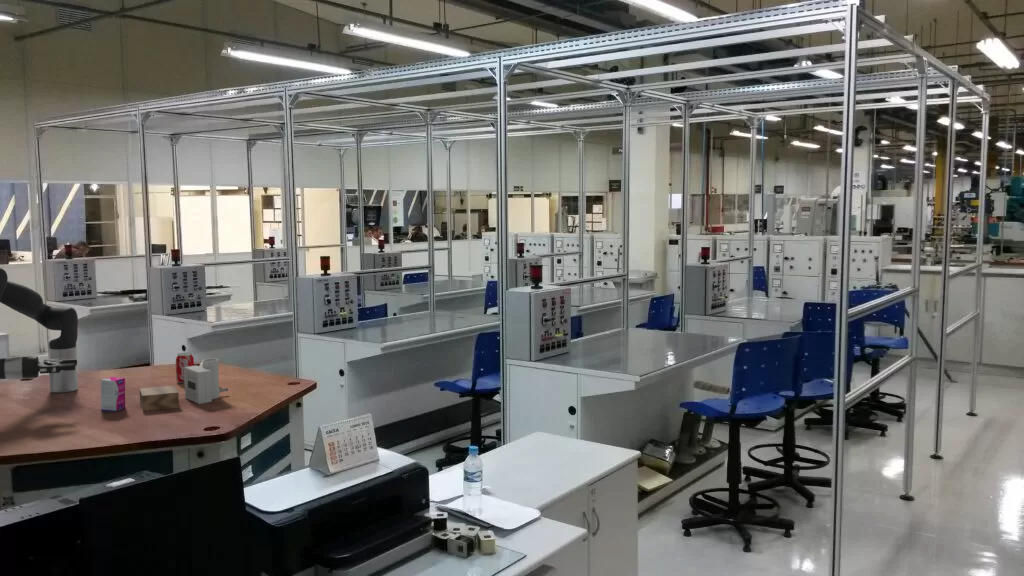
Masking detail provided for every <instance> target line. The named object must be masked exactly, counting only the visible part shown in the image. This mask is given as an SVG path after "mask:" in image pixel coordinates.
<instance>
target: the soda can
mask: <svg viewBox="0 0 1024 576" xmlns="http://www.w3.org/2000/svg"><path fill="white" fill-rule="evenodd" d="M176 355H177V356H176V357H175V379H176V382H177V383H179V384H185V374H184V367H189V366H195V357H194V356H193V353H192V352H181V353H180V352H179V353H177V354H176Z"/></svg>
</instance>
